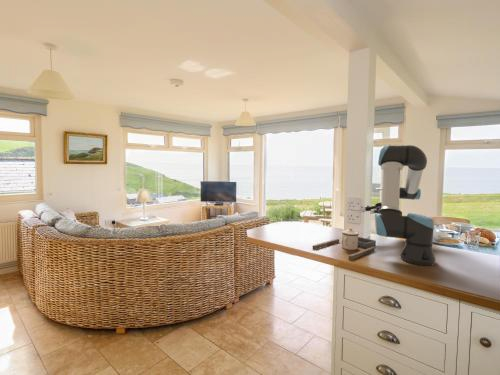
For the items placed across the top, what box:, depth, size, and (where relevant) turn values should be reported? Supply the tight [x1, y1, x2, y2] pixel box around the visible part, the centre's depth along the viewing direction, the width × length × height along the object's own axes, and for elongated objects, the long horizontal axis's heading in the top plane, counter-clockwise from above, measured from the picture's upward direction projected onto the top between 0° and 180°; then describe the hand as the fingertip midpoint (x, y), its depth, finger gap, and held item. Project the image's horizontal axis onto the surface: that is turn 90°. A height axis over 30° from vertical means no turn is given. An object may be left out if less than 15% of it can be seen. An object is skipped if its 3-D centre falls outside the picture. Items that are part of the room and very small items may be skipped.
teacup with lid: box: [341, 227, 359, 251], centre depth 162 cm, size 12×9×12 cm
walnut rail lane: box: [312, 238, 376, 261], centre depth 158 cm, size 24×25×2 cm
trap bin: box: [358, 236, 377, 249], centre depth 171 cm, size 14×11×3 cm
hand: (365, 211), depth 172 cm, fingers open, 6 cm apart
